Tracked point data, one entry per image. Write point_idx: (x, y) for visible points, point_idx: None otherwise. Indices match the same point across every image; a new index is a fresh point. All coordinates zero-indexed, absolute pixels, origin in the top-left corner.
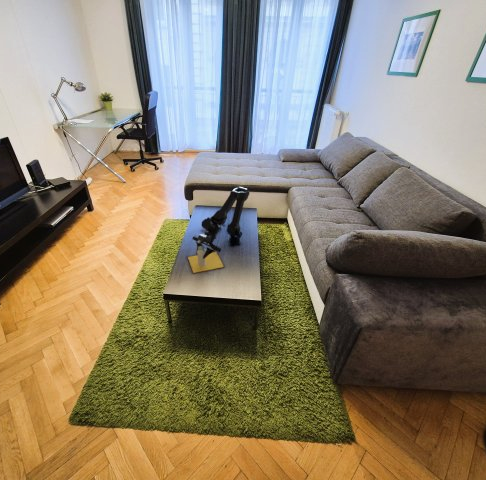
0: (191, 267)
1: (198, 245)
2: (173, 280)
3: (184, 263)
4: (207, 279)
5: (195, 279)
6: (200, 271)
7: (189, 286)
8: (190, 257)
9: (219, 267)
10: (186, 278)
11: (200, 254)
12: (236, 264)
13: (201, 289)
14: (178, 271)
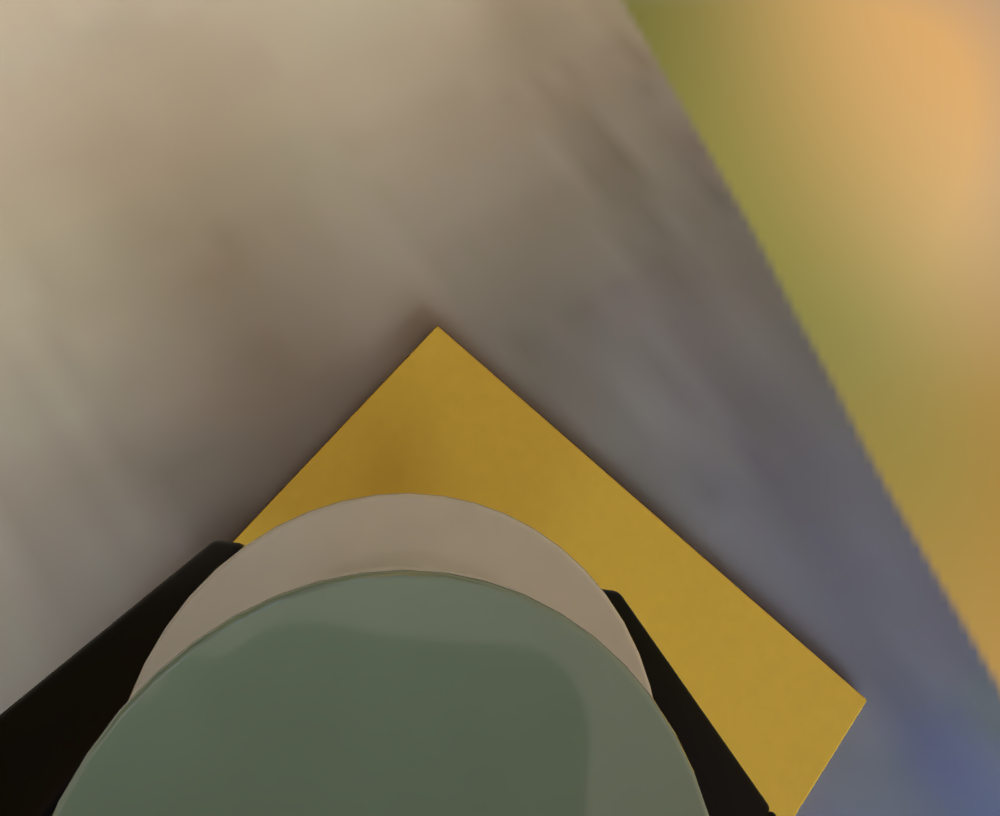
0: (578, 450)
1: None
2: (622, 14)
3: (777, 485)
4: (65, 311)
5: (295, 199)
6: (332, 436)
7: (289, 5)
8: (811, 723)
9: None
10: (463, 147)
11: (317, 516)
12: None
13: (37, 29)
14: (709, 234)
